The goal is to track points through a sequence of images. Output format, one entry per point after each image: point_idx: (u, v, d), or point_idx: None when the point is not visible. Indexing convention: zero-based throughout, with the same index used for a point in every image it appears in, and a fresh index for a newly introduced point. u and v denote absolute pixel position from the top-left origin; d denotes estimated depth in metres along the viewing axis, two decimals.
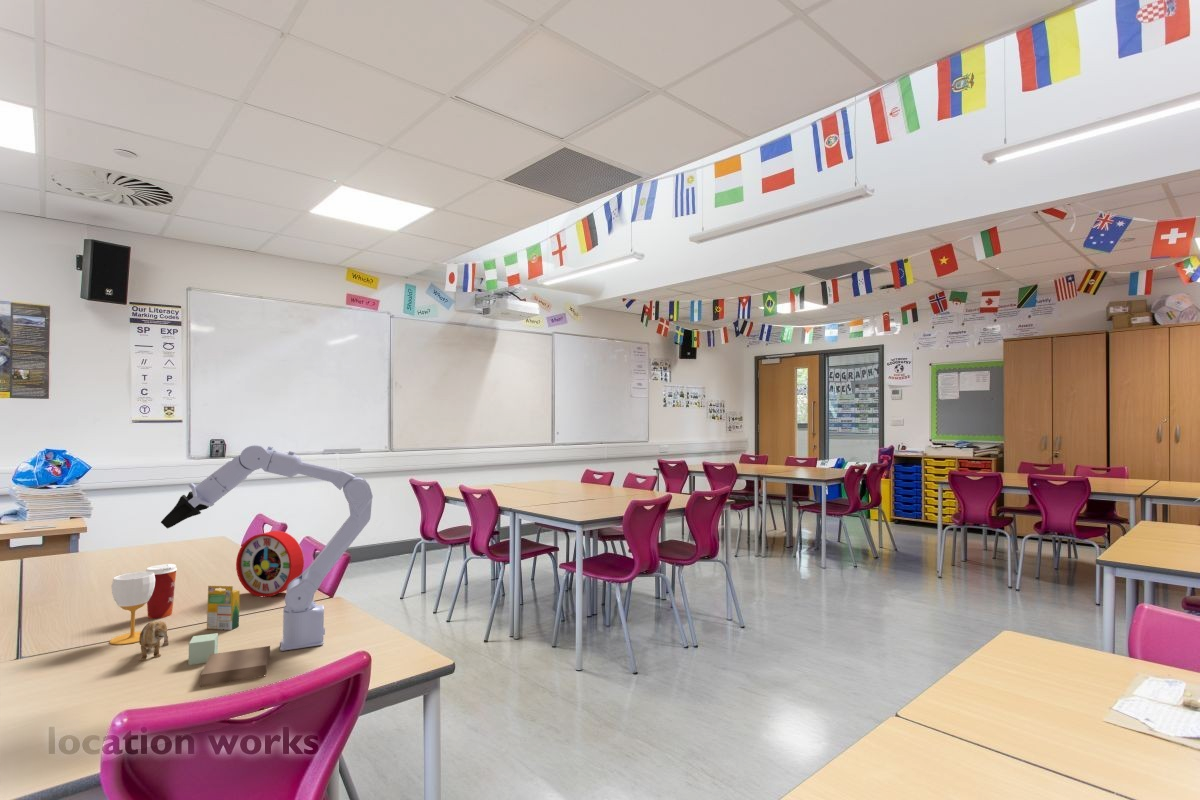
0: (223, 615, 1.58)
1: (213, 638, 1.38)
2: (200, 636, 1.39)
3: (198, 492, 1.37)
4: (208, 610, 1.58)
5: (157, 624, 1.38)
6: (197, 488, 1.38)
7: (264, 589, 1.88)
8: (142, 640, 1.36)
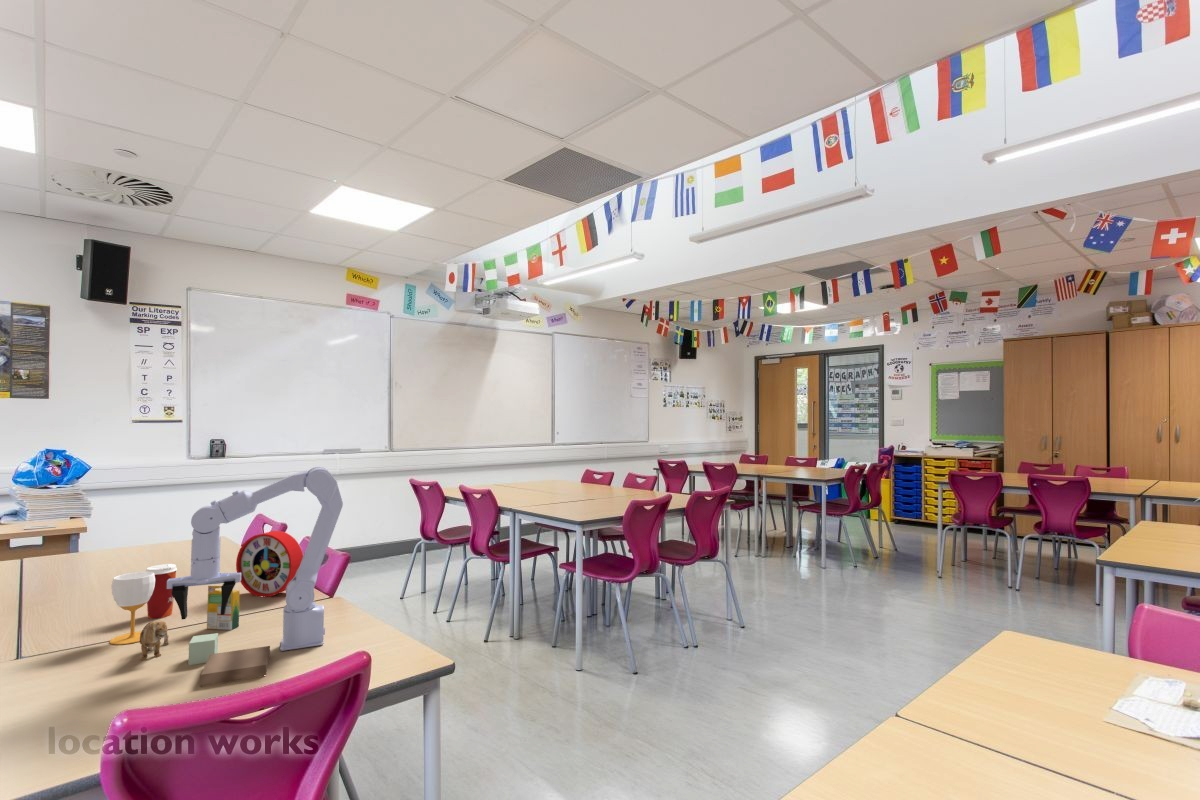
0: (223, 615, 1.58)
1: (213, 638, 1.38)
2: (200, 636, 1.39)
3: (217, 576, 1.39)
4: (208, 610, 1.58)
5: (157, 624, 1.38)
6: (212, 576, 1.38)
7: (264, 589, 1.88)
8: (142, 640, 1.36)
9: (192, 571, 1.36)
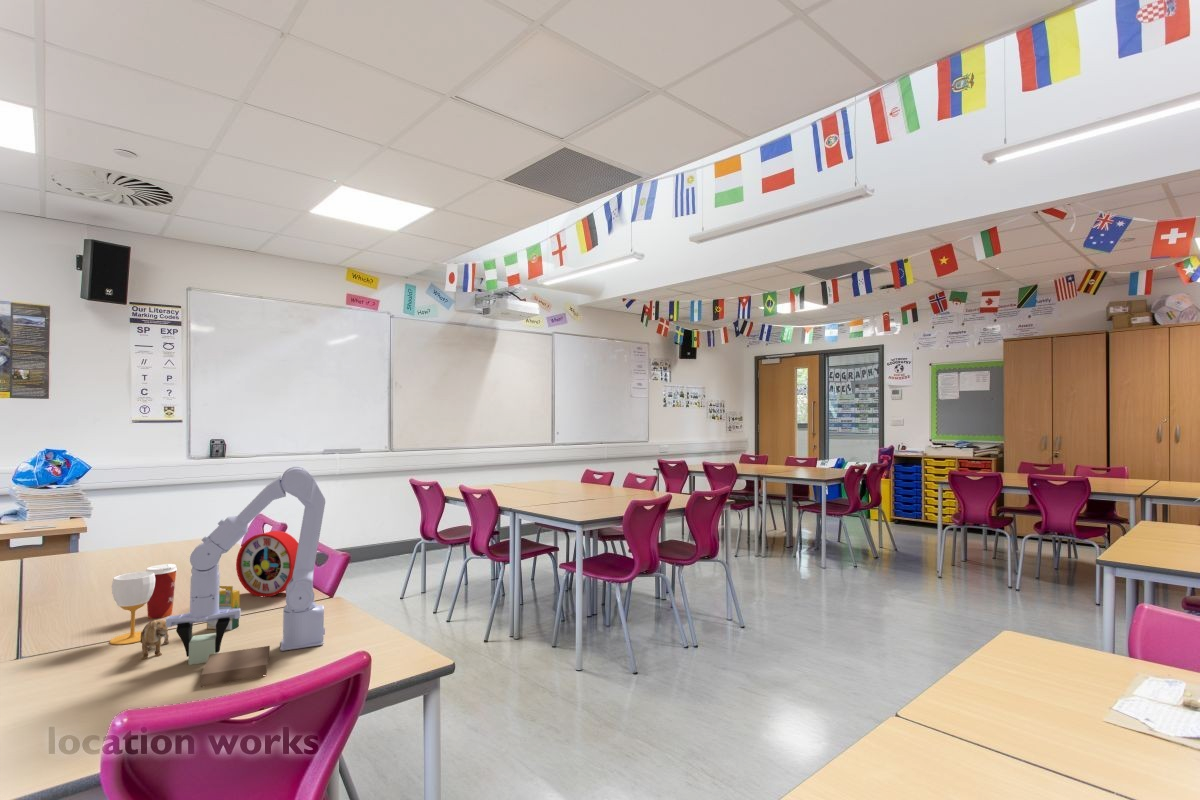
0: None
1: (213, 637, 1.38)
2: (200, 636, 1.39)
3: (216, 613, 1.38)
4: None
5: (158, 623, 1.38)
6: (212, 613, 1.37)
7: (264, 589, 1.88)
8: (143, 639, 1.37)
9: (191, 609, 1.36)
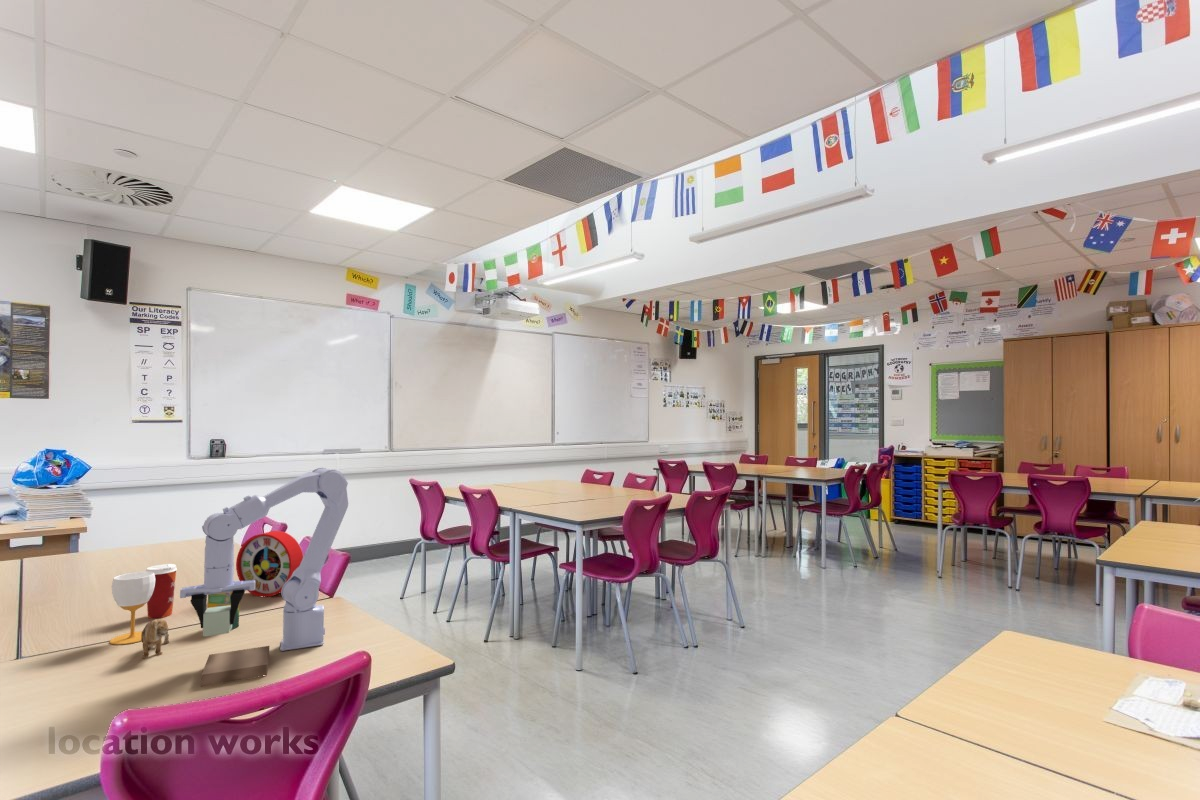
0: None
1: (228, 609, 1.36)
2: (214, 608, 1.37)
3: (231, 584, 1.36)
4: None
5: (159, 622, 1.39)
6: (226, 584, 1.35)
7: (264, 589, 1.88)
8: (144, 638, 1.37)
9: (206, 580, 1.34)
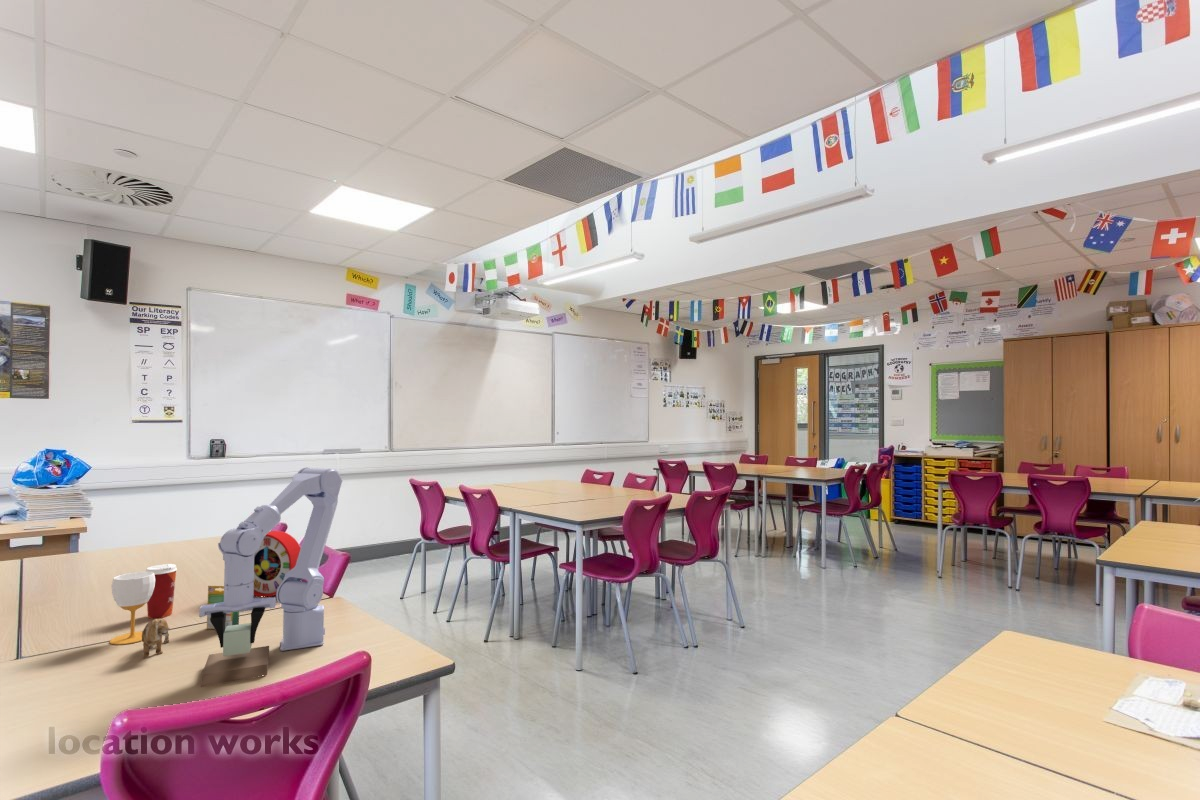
0: None
1: (248, 628, 1.32)
2: (234, 626, 1.33)
3: (251, 602, 1.32)
4: None
5: (160, 621, 1.39)
6: (247, 602, 1.31)
7: (264, 589, 1.88)
8: (145, 637, 1.38)
9: (226, 597, 1.30)
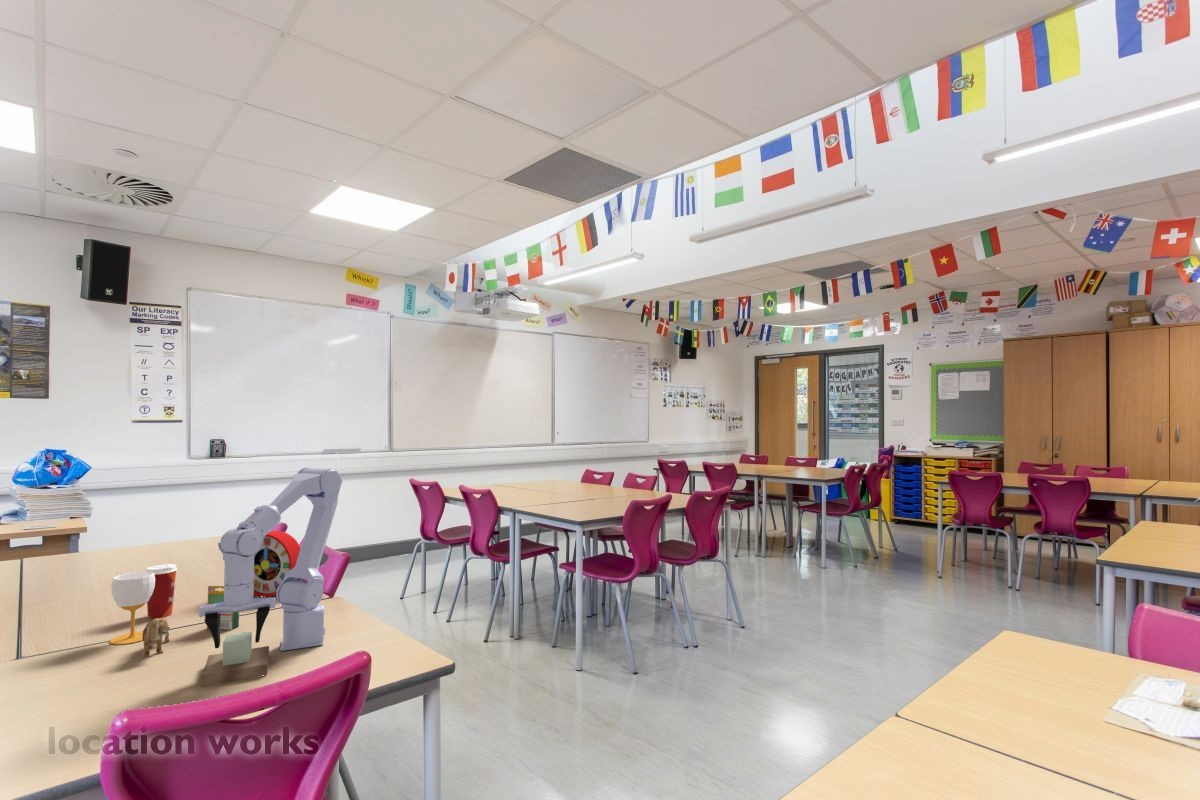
0: (223, 615, 1.58)
1: (248, 637, 1.32)
2: (234, 635, 1.33)
3: (251, 602, 1.32)
4: None
5: (160, 621, 1.40)
6: (247, 602, 1.31)
7: (264, 589, 1.88)
8: (145, 637, 1.38)
9: (226, 597, 1.30)
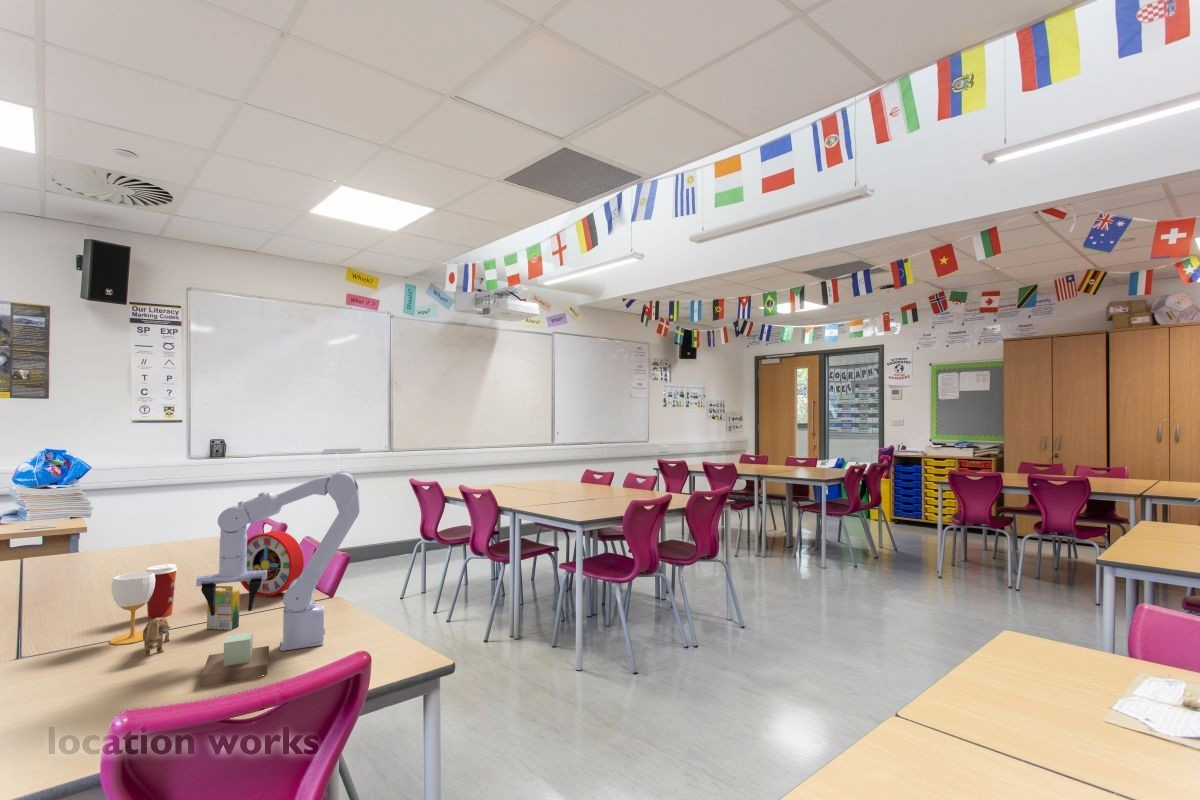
0: (223, 615, 1.58)
1: (249, 637, 1.31)
2: (234, 635, 1.33)
3: (244, 573, 1.43)
4: (208, 610, 1.58)
5: (161, 620, 1.40)
6: (240, 573, 1.42)
7: (264, 589, 1.88)
8: (146, 636, 1.39)
9: (221, 569, 1.41)
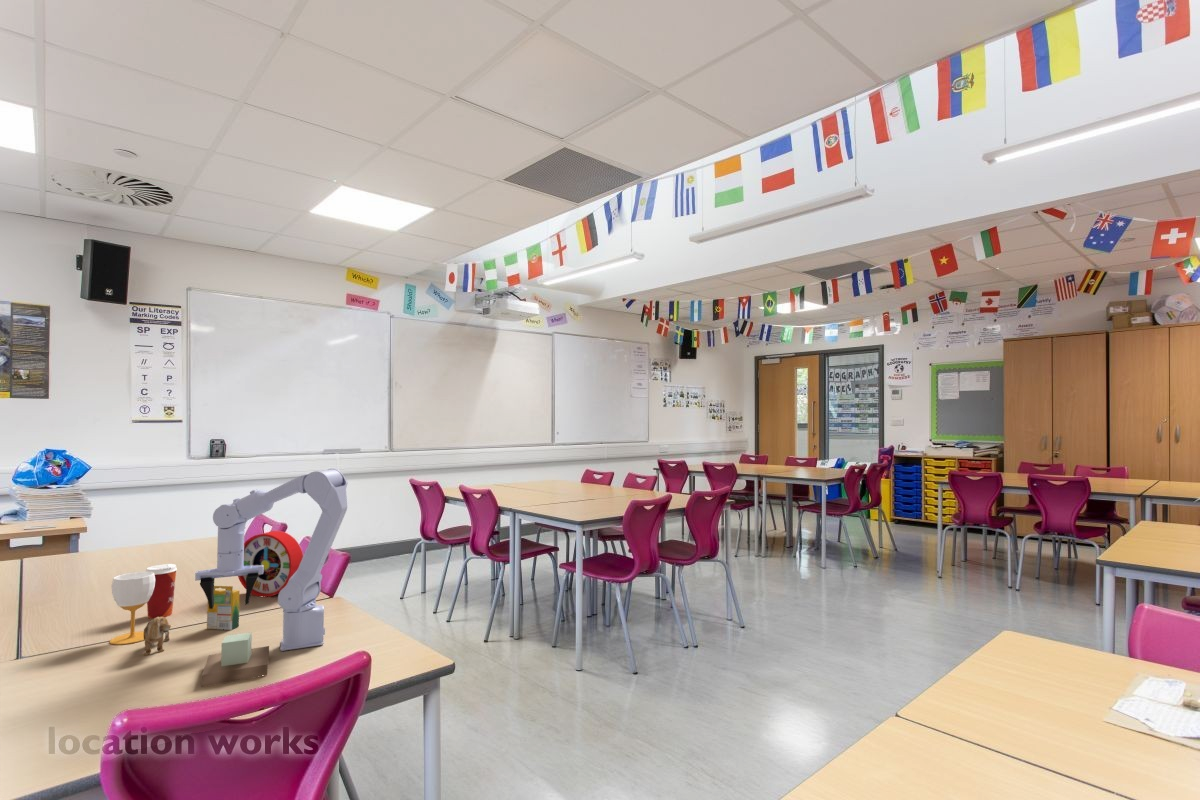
0: (223, 615, 1.58)
1: (246, 637, 1.31)
2: (233, 635, 1.33)
3: (241, 568, 1.49)
4: (208, 610, 1.58)
5: (161, 619, 1.41)
6: (238, 568, 1.48)
7: (264, 589, 1.88)
8: (147, 635, 1.39)
9: (219, 564, 1.46)
